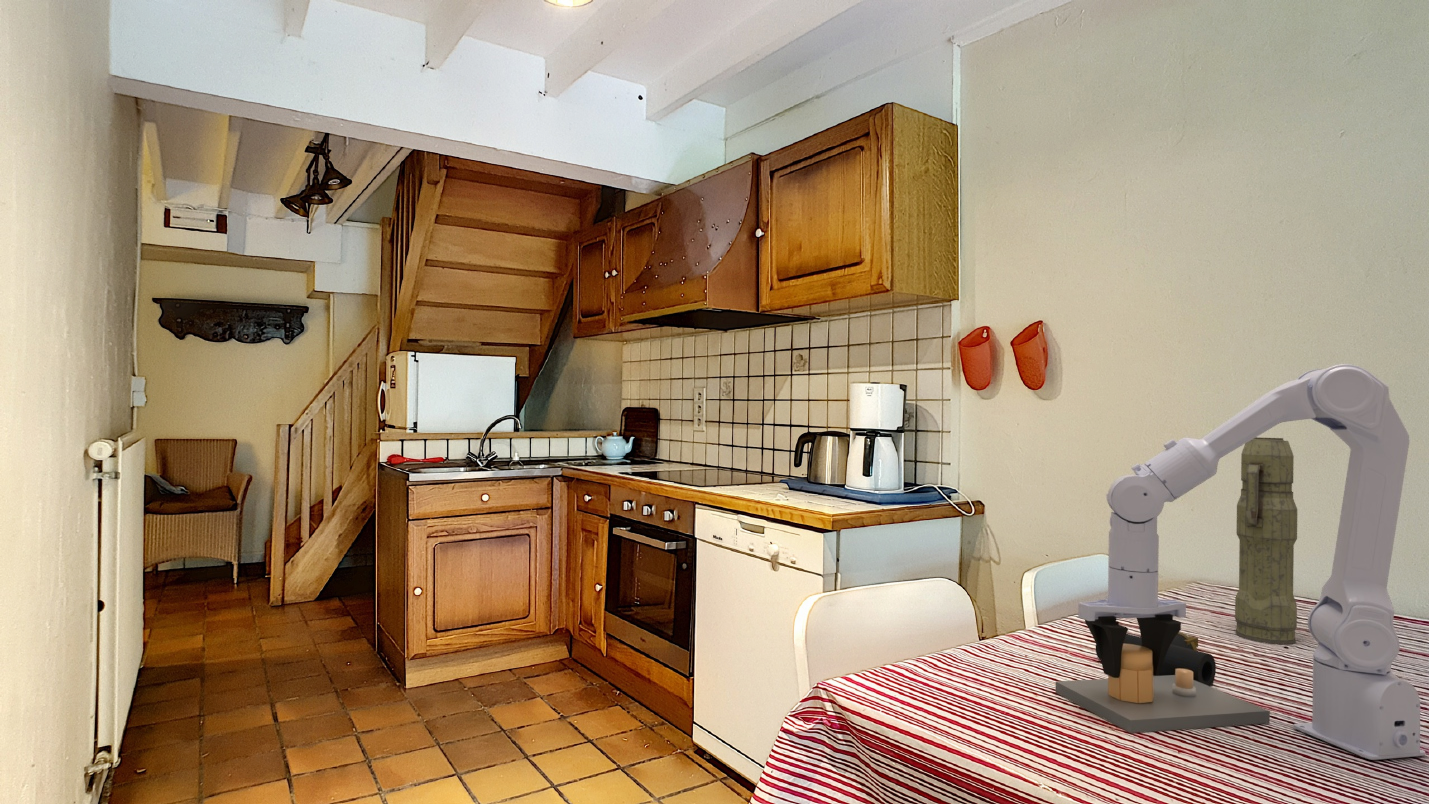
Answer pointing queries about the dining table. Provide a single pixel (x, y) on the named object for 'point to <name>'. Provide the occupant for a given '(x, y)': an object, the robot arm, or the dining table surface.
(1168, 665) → the pipe connector
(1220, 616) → the dining table surface
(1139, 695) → the wire cap
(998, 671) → the dining table surface
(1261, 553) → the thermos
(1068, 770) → the dining table surface
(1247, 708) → the board
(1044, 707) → the dining table surface
